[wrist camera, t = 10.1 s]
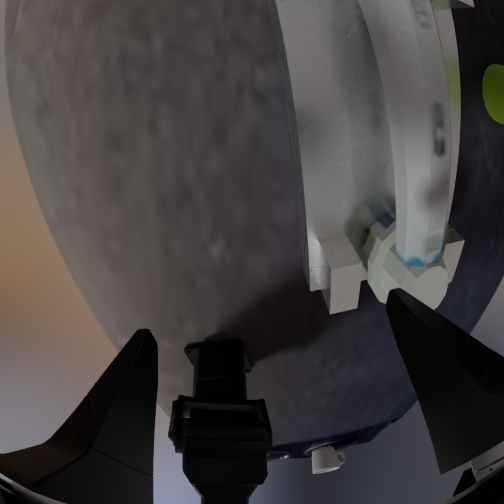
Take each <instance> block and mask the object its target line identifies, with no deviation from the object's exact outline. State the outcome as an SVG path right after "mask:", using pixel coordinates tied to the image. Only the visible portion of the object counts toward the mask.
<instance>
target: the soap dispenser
mask: <svg viewBox="0 0 504 504" xmlns="http://www.w3.org/2000/svg"><path fill="white" fill-rule="evenodd" d="M482 93H483V100H484V104H485V107H486V109H487V111H488V113H489V115H490V116H491V118H492V119H493V120H495V121H496V122H499V123H501V124H503V125H504V66H503V65H499V64H492V65H490V66H488V67H487V69H486V71H485V73H484V76H483V81H482Z"/></svg>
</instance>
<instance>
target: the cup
mask: <svg viewBox="0 0 504 504" xmlns="http://www.w3.org/2000/svg"><path fill="white" fill-rule="evenodd" d="M338 454H340V455H341V456H342V462H340V461H339V460H338V458H337V455H338ZM345 460H346V458H345V455H344V453H343V452H339V451H338V452H335V450H334V448H333V447H332V446H323V447H319V448H316V449H314V450H313V452H312V463H313V473H314V474H317V473H323V472H328V471H332V470H335V469H338V468H339V467H340V465H341V464H343V463H344V462H345Z"/></svg>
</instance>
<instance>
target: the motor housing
mask: <svg viewBox="0 0 504 504" xmlns="http://www.w3.org/2000/svg"><path fill="white" fill-rule="evenodd" d="M430 1H431V4H432V8H433V11H434V15H435V18H436V22H437V26H438V30H439V35H440V39H441V44H442V49H443V55H444V60H445V67H446V73H447V81H448V90H449V101H450V115H451V175H450V190H449V202H448V211H447V219H446V226H445V233H444V240H443V245H442V251H441V256H440V257H441V258H442V259H443V261H444V264H445V267H446V271H447V275H448V279H449V282H451V281H452V279H453V276H454V273H455V270H456V267H457V264H458V261H459V258H460V255H461V251H462V248H463V245H464V241H465V240H464V239H463V238H462V237H461V236H460V235H459V234H458V233H457V232H456V231H455V230H454V229H453V228H452V227H451V226H450V225H449V224H448V220H449V215H450V210H451V204H452V199H453V193H454V186H455V179H456V172H457V163H458V153H459V140H460V117H461V94H460V72H459V60H458V50H457V42H456V35H455V29H454V23H453V18H452V13H451V9H454V8H469V7H474V3H473V0H430ZM266 5H267V9H268V14H269V19H270V24H271V29H272V34H273V39H274V44H275V49H276V55H277V61H278V66H279V72H280V78H281V84H282V90H283V97H284V103H285V110H286V117H287V124H288V131H289V139H290V146H291V154H292V163H293V171H294V180H295V189H296V199H297V209H298V219H299V230H300V242H301V255H302V267H303V270H304V273H305V276H306V279H307V282H308V285H309V289H310V291H315V290H320V289H321V291H322V294H323V297H324V299H325V302H326V305H327V308H328V311H329V314H333V313H338V312H342V311H347V310H351V309H355V308H357V305H358V298H359V291H360V283H361V281H363V280H367V279H368V273H367V271H366V270H365V268H364V266H363V263H362V246H364V245H365V243H366V241H367V238H368V236H369V233H370V231H371V230H370V229H369V227H371V226H372V225H373V224H374V223H375V222H376V221H377V220H378V219H379V218H380V217H381V216H383V215H388V214H393V213H396V196H395V178H394V164H393V154H392V144H391V136H390V128H389V121H388V114H387V108H386V102H385V97H384V92H383V86H382V82H381V77H380V72H379V68H378V64H377V60H376V56H375V52H374V48H373V44H372V41H371V37H370V34H369V30H368V27H367V24H366V21H365V18H364V15H363V12H362V9H361V6H360V3H359V0H266ZM449 282H448V283H449Z"/></svg>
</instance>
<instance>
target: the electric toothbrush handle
mask: <svg viewBox="0 0 504 504" xmlns="http://www.w3.org/2000/svg"><path fill="white" fill-rule="evenodd" d="M359 3H360V6H361V9H362V12H363V15H364V18H365V21H366V24H367V27H368V30H369V34H370V37H371V41H372V44H373V48H374V52H375V56H376V60H377V64H378V68H379V72H380V77H381V82H382V86H383V92H384V97H385V102H386V108H387V114H388V121H389V128H390V136H391V144H392V154H393V164H394V178H395V196H396V213H393V214H388V215H383V216H381V217H380V218H379V219H378V220H377V221H376V222H375V223H374V224H373V225H372V226H371V227H369V229H370V230H371V231H370V233H369V236H368V238H367V241H366V243H365V245H364V246H362V263H363V266H364V268H365V270H366V271H367V273H368V283H369V285H370V286H371V288H372V290H373V292H374V293H375V295H376V297H377V298H378V300H379V301H380V302H382V303H385V304H386V301H387V297H388V293H389V291H390V290H391V289H394V288H401V289H403V290H405V291H406V292H408V293H409V294H411V295H412V296H414V297H415V298H417V299H418V300H420V301H421V302H423V303H424V304H426V305H427V306H429V307H430V308H432V309H433V310H434V309H435V308H436V307H438V306H439V304H440V303H441V301H442V299H443V298H444V296H445V294H446V291H447V287H448V282H449V279H448V275H447V271H446V267H445V264H444V261H443V259H442V258H441V257H440V256H441V251H442V245H443V240H444V233H445V226H446V219H447V211H448V202H449V190H450V175H451V115H450V101H449V90H448V81H447V73H446V67H445V60H444V55H443V49H442V44H441V39H440V35H439V30H438V26H437V22H436V18H435V15H434V11H433V8H432V4H431V1H430V0H359Z"/></svg>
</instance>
